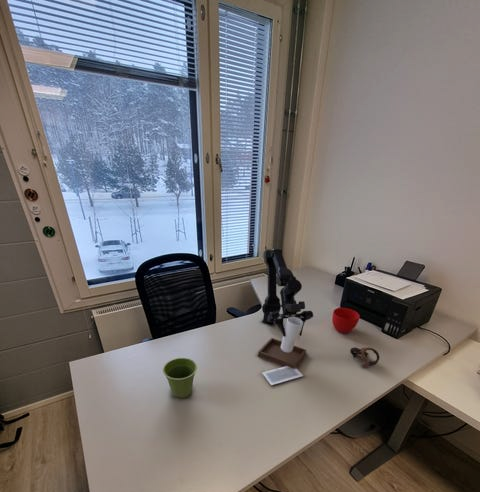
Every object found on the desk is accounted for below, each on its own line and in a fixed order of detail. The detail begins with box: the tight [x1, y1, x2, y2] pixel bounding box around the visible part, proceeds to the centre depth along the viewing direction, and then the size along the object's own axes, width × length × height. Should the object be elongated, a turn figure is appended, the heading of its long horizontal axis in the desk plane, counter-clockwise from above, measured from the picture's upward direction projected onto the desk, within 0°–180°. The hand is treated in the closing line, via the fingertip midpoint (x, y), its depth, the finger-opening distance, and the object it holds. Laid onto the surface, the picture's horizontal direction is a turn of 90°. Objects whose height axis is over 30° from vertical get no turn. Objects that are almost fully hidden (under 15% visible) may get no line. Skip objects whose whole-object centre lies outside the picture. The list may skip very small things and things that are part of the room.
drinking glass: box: [281, 317, 304, 353], centre depth 113 cm, size 7×7×15 cm
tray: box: [257, 337, 307, 369], centre depth 121 cm, size 18×14×2 cm
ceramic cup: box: [331, 306, 361, 334], centre depth 142 cm, size 13×17×10 cm
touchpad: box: [261, 366, 304, 386], centre depth 109 cm, size 8×15×2 cm, turn 113°
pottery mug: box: [349, 346, 380, 369], centre depth 118 cm, size 12×10×8 cm
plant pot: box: [162, 357, 198, 399], centre depth 97 cm, size 12×12×11 cm
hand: (292, 336), depth 111 cm, fingers closed on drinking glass, 7 cm apart
